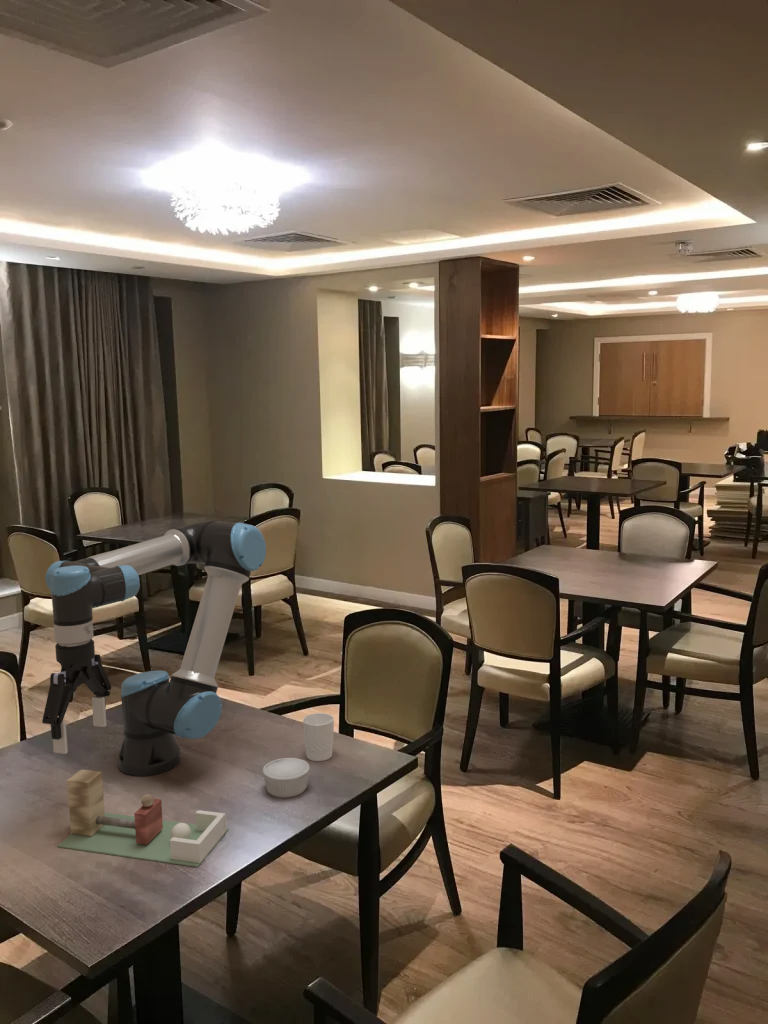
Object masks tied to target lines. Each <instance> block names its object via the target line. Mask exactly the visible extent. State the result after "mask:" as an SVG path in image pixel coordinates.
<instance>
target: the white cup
mask: <svg viewBox="0 0 768 1024" xmlns="http://www.w3.org/2000/svg"><path fill="white" fill-rule="evenodd" d="M334 719H335V718H334V716H333V715H332V714H331V713H325V712H314V713H310V714H307V715H305V716H304V717H303V719H302V724H303V738H304V746H305V756H306V758H307V760H310V761H312V762H323V761H327V760H330V759H331V758H332V756H333V746H334V730H335V727H334V726H335V725H334V722H335V721H334Z"/></svg>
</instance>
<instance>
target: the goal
mask: <svg viewBox="0 0 768 1024" xmlns="http://www.w3.org/2000/svg"><path fill="white" fill-rule="evenodd" d="M194 816H195V824H196V830H197V831H204V832H203V833H202V835H201V836H200V837H199V838H198V839H197V840H190V839H183V838H176V837H173V838H172V839H171V840H170V851H171V859H175V860H182V861H189V862H196V863H201V861H202V860H203V859H204V858H205V856H206V855H207V854H208V853H209V852H210V850H211V849H212V848H213V847H214V845H215V844H216V843H217V842H218V841H219V839H220V838H221V837H222V836H223V834H224V833H225V832H226V828H227V818H226V817H227V816H226V813H225V812H216V811H210V810H200V809H197V811H195V815H194ZM226 833H227V832H226ZM226 833H225V834H226ZM223 837H224V836H223ZM223 837H222V838H223ZM222 838H221V839H222ZM219 842H220V841H219ZM219 842H218V843H219ZM218 843H217V844H218ZM217 844H216V845H217ZM214 848H215V847H214ZM214 848H213V849H214ZM213 849H212V850H213ZM210 853H211V852H210ZM210 853H209V854H210ZM209 854H208V855H209ZM208 855H207V856H208ZM205 859H206V858H205ZM205 859H204V860H205ZM204 860H203V861H204ZM201 864H202V863H201Z"/></svg>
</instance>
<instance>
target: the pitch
mask: <svg viewBox="0 0 768 1024" xmlns="http://www.w3.org/2000/svg"><path fill="white" fill-rule="evenodd" d="M105 817H110V818H118V819H126V820H133V821H135V816H134V815H128V814H119V813H111V812H105ZM162 821H163V829H162V830H161V831H160V832H159V833H158V834H157V835H156V836H155V837H154V838H153V839H152V840H151V841H150V842H149V843H148V844H147V845H146V844H139V843H136V832H135V829H131V828H124V827H116V826H109V825H104V826H102V827H101V828H100V829H99V830H98V831H97V832H96V833H95V834H94V835H92V836H86V835H79V834H72V833H70V834H69V835H68V836H67V837H66V838H64V839H63V841H62V842H60V843H59V844H58V845H57V848H60V849H61V848H62V849H69V850H74V851H83V852H90V853H96V854H102V855H103V854H104V855H110V856H116V857H123V858H124V857H125V858H131V859H139V860H144V861H151V862H159V863H164V864H165V863H166V864H172V865H173V864H174V865H177V866H178V865H179V866H186V867H193V868H199V866H200V865H201V864H202V863H203V862H204V860H205V859H206V858H207V857H208V855H209V854H210V853H211V852H212V851H213V849H214V848H215V847H216V846H217V845H218V844H219V842H220V841H221V839H222V838H223V837H224V836H225V835H226V834H227V832H228V831H229V828H227V827H226V832H225V833H224V834H223V836H222V837H221V838H220V839H219V841H218V842H217V843H216V844H215V845H214V847H213V848H212V849H211V850H210V852H209V853H208V854H207V855H206V856H205V858H204V859H203V860H202V861H201V863H196V862H189V861H182V860H175V859H171V851H170V840H171V839H172V837H171V831H172V829H173V827H174V826H175V825H176V824H178V823H182V822H179V821H173V820H164V819H162ZM184 823H185V824H187V825H188V826H189V827H190V830H191V835H190V838H189V839H190V840H197V839H198V838H199V837H200V836H201V835H202V833H203V832H204V831H197V830H196V823H188V822H184Z"/></svg>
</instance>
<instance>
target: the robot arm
mask: <svg viewBox="0 0 768 1024" xmlns="http://www.w3.org/2000/svg"><path fill="white" fill-rule="evenodd" d="M266 555H267V545H266V541H265V538H264V535H263V532H261V530H260V529H259V528H258V527H256V526H254V525H252V524H248V523H243V522H229V521H228V522H227V521H219V520H218V521H217V520H210V519H209V520H202V521H197V522H193V523H189V524H186V525H183V526H180V527H179V526H178V527H176V528H172V529H170V530H169V529H168V530H167V531H166V532H165V533H164V535H163V536H159V537H155V538H152V539H148V540H146V541H145V540H144V541H142V542H141V541H140V542H138V543H135V544H131V545H128V546H124V547H121V548H118V549H114V550H110V551H107V552H106V551H105V552H103V553H100V554H97V555H93V556H89V557H86V558H81V559H79V560H74V561H70V560H58V561H55V562H53V563H52V564H51V565H50V566H49V567H48V568H47V570H46V572H45V584H46V587H47V588H48V590H49V591H50V595H51V602H52V603H51V605H52V606H51V607H52V614H53V615H52V618H53V631H54V632H53V635H54V636H53V637H54V642H55V643H56V644H55V645H54V646H55V647H54V648H55V660H56V662H57V663H59V665H60V667H61V668H60V672H58V673H57V672H56V673H55V672H52V673H50V675H49V677H50V681H49V682H50V683H49V690H48V693H47V698H46V703H45V708H44V711H43V716H42V720H41V721H42V724H45V725H50V732H51V739H52V745H53V749H52V750H53V753H56V754H63V755H66V754H67V753H68V750H69V749H68V737H67V725H66V724H67V722H66V721H64V719H65V715H66V713H67V709H68V707H69V705H70V702H71V699H72V695H73V694H74V692H77V688H78V687H80V686H81V685H82V684H84V685H85V686H86V687H87V688H88V689H89V691H90V692H91V693H92V694H93V695H94V696H91V708H92V724H93V726H94V727H101V728H102V727H103V728H105V727H106V726H107V712H106V697H110V695H111V690H112V684H111V682H110V679H109V677H108V675H107V673H106V670H105V668H104V666H103V663H102V657H101V656H102V655H100V654H96V651H95V650H96V649H95V641H94V640H93V638H94V626H93V625H94V623H93V619H94V618H93V617H94V616H93V609H96V608H99V607H103V606H107V605H111V604H112V605H113V604H115V603H118V602H119V603H120V602H125V601H126V600H128V599H131V598H133V597H136V596H137V595H138V593H139V592H140V587H141V584H140V583H141V582H140V575H144V574H147V573H149V572H150V573H151V572H153V571H156V570H158V569H163V568H165V567H169V566H172V565H174V566H176V567H179V566H180V567H181V566H184V565H188V564H200V565H201V564H202V565H204V567H203V569H204V570H205V572H206V574H207V579H206V582H205V585H204V588H203V591H202V596H201V599H200V602H199V605H198V608H197V612H196V614H195V615H196V616H195V617H194V622H193V625H192V629H191V632H190V635H189V638H188V642H187V645H186V649H185V651H184V655H183V658H182V662H181V665H180V667H179V669H178V670H177V671H175V672H173V673H172V674H171V675H169V672H167V671H165V670H148V671H144V672H140V673H137V674H132V675H131V676H128V677H127V678H125V679H124V680H123V681H122V682H121V683H122V684H121V685H120V687H121V688H120V689H121V694H120V699H121V710H122V712H121V714H122V724H123V739H122V743H121V747H120V750H119V753H118V758H117V760H118V761H117V762H118V763H117V764H118V768H119V771H121V772H122V773H124V774H126V775H129V776H136V777H137V776H139V777H143V776H153V775H156V774H161V773H164V772H166V771H169V770H171V769H172V768H173V769H174V768H175V767H176V766H177V765H178V764H179V763H180V761H181V749H180V746H179V745H178V742H177V739H176V737H175V736H177V737H179V738H183V739H191V740H198V739H202V738H203V737H206V736H207V735H208V733H211V732H212V731H213V729H215V727H216V726H217V724H218V723H219V720H220V717H221V715H222V710H223V707H222V706H223V704H222V700H221V697H220V696H219V694H217V692H218V688H219V685H218V683H217V681H216V680H215V678H216V677H215V676H216V674H217V670H218V667H219V662H220V660H221V656H222V653H223V648H224V645H225V642H226V638H227V635H228V632H229V628H230V624H231V621H232V617H233V614H234V610H235V607H236V603H237V600H238V597H239V593H240V590H241V587H242V585H243V584H245V583H247V582H248V581H249V579H250V578H251V573H252V572H254V571H257V570H259V569H260V567H262V566H263V564H264V562H265V559H266Z"/></svg>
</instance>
